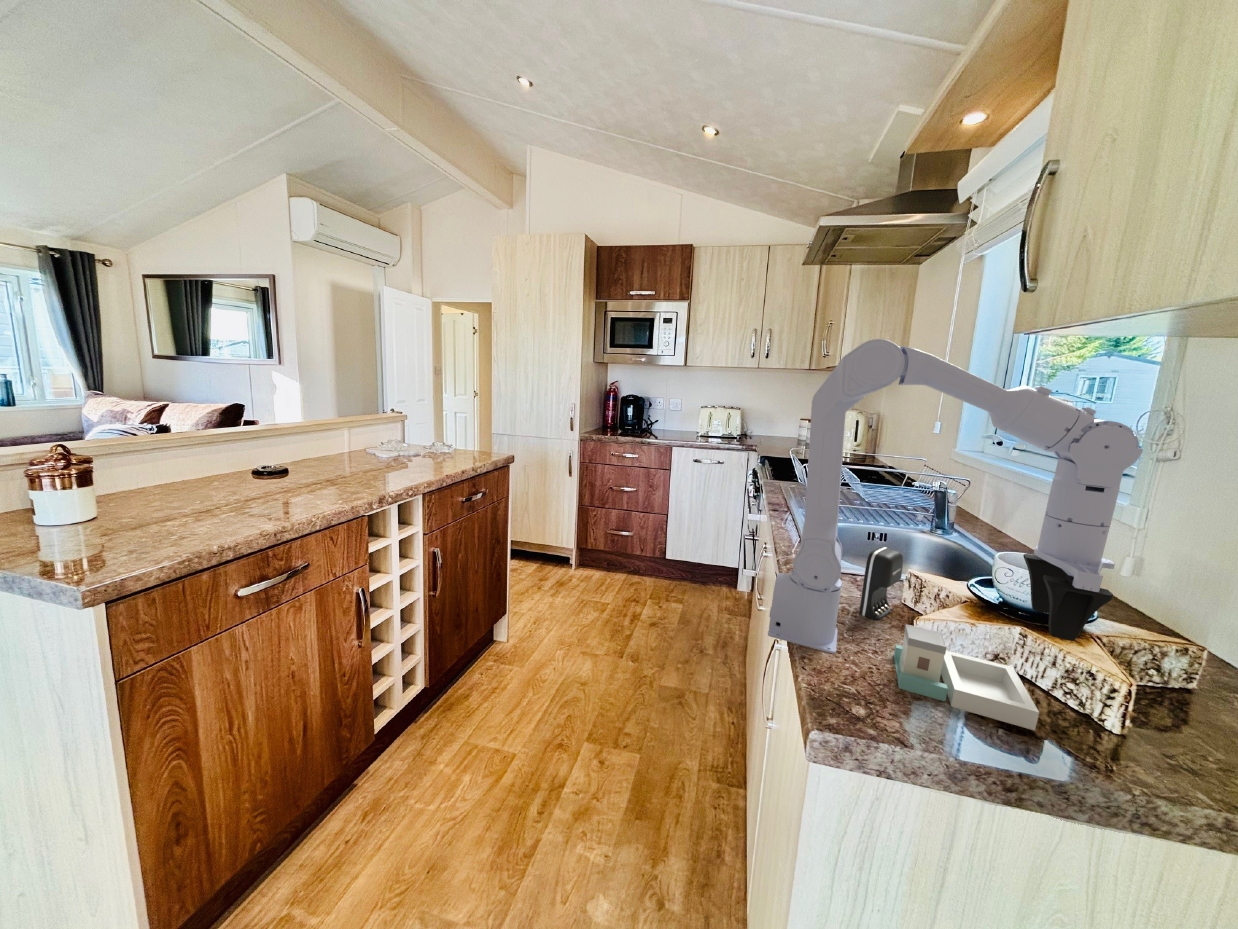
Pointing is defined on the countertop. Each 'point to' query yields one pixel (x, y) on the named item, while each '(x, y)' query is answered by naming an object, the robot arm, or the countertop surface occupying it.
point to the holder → (918, 681)
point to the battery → (879, 581)
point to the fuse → (922, 653)
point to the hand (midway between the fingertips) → (1051, 624)
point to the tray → (988, 690)
